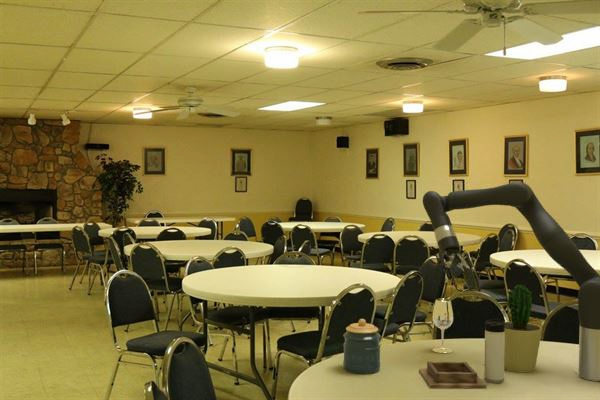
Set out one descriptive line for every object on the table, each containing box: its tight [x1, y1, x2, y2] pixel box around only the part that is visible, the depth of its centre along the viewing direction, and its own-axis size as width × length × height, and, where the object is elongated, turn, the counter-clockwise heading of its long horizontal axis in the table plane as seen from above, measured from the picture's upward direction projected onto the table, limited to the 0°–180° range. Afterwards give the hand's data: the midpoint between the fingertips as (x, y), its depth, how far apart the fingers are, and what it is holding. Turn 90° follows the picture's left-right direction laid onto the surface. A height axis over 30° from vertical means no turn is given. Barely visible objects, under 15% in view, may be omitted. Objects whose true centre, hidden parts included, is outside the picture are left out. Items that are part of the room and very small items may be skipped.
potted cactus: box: [504, 283, 543, 373], centre depth 225 cm, size 15×15×30 cm
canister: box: [342, 318, 381, 375], centre depth 222 cm, size 13×13×18 cm
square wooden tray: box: [418, 361, 488, 389], centre depth 210 cm, size 18×18×4 cm
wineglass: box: [432, 298, 454, 354], centre depth 247 cm, size 8×8×20 cm
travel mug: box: [483, 318, 506, 384], centre depth 210 cm, size 6×7×20 cm
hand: (460, 279), depth 229 cm, fingers open, 8 cm apart
